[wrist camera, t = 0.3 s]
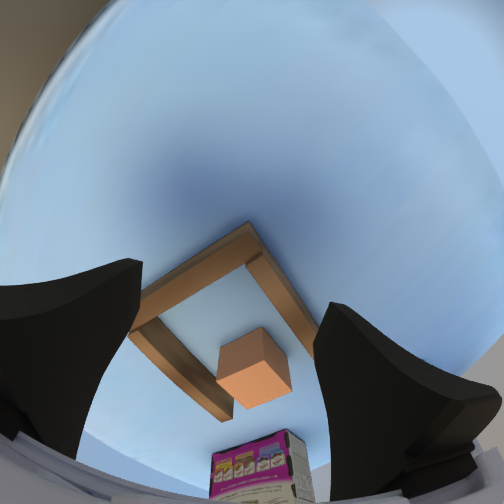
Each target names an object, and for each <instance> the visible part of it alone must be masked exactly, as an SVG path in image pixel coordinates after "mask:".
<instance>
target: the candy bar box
mask: <svg viewBox="0 0 504 504" xmlns="http://www.w3.org/2000/svg"><path fill="white" fill-rule="evenodd" d="M209 499H211V500H219V501H228V502H238V503H252V504H308V503H315V497H314V490H313V485H312V479H311V473H310V467H309V461H308V456H307V450H306V445H305V442H303V441H302V440H301V439H299V438H297V437H296V436H294V435H293V434H292V433H291V432H289V431H288V430H286V429H285V430H281V431H279V432H276V433H274V434H271V435H269V436H266V437H263V438H261V439H258V440H255V441H253V442H250V443H247V444H244V445H241V446H238V447H235V448H232V449H229V450H226V451H222V452H219V453H216V454H212V461H211V474H210V488H209Z"/></svg>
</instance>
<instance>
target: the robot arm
mask: <svg viewBox="0 0 504 504" xmlns="http://www.w3.org/2000/svg"><path fill="white" fill-rule="evenodd" d="M142 267H143V262H142V261H138V260H134V259H130V258H126V259H121V260H118V261H115V262H112V263H109V264H106V265H103V266H100V267H97V268H94V269H92V270H88V271H85V272H82V273H79V274H75V275H72V276H69V277H65V278H61V279H57V280H52V281H46V282H41V283H32V284H24V285H10V286H0V504H252V503H238V502H228V501H219V500H211V499H204V498H198V497H192V496H186V495H182V494H177V493H172V492H168V491H163V490H159V489H155V488H151V487H148V486H144V485H140V484H137V483H134V482H130V481H127V480H124V479H121V478H118V477H115V476H113V475H109V474H107V473H104V472H102V471H99V470H97V469H94V468H92V467H89V466H87V465H84V464H82V463H80V462H78V461H75V460H76V455H77V450H78V447H79V442H80V438H81V435H82V431H83V428H84V425H85V421H86V418H87V415H88V412H89V409H90V406H91V404H92V401H93V398H94V396H95V393H96V391H97V388H98V386H99V383H100V381H101V378H102V376H103V374H104V372H105V370H106V369H107V367H108V365H109V363H110V362H111V360H112V358H113V357H114V355H115V353H116V352H117V350H118V349H119V347H120V345H121V344H122V342H123V340H124V339H125V337H126V335H127V334H128V332H129V331H130V329H131V327H132V325H133V323H134V320H135V318H136V316H137V314H138V311H139V309H140V297H141V281H142ZM313 354H314V363H315V368H316V372H317V376H318V380H319V384H320V388H321V392H322V395H323V399H324V403H325V407H326V412H327V417H328V425H329V435H330V449H331V491H330V502H322V503H308V504H504V460H503V458H502V456H501V455H500V453H499V451H498V449H497V447H493V448H491V449H489V450H488V451H485V452H484V451H483V450H482V448H481V446H480V444H479V442H478V441H477V439H476V437H477V436H478V435H479V434H480V433H481V432H482V431H483V430H484V429H485V428H486V426H487V425H488V424H489V423H490V422H491V421H492V420H493V418H494V417H495V416H496V414H497V413H498V411H499V409H500V407H501V404H502V397H501V396H500V395H499V393H498V392H497V390H496V389H495V388H493V387H492V386H489V385H485V384H481V383H477V382H473V381H470V380H466V379H464V378H461V377H458V376H455V375H453V374H450V373H448V372H446V371H443V370H441V369H439V368H437V367H435V366H433V365H431V364H429V363H427V362H425V361H423V360H421V359H420V358H418V357H416V356H415V355H413V354H411V353H410V352H408V351H406V350H405V349H403V348H402V347H401V346H399V345H398V344H396V343H395V342H394V341H392V340H391V339H389V338H388V337H387V336H385V335H384V334H383V333H382V332H380V331H379V330H378V329H377V328H375V327H374V326H373V325H372V324H370V323H369V322H368V321H367V320H365V319H364V318H363V317H362V316H360V315H359V314H358V313H356V312H355V311H354V310H352V309H351V308H349V307H348V306H346V305H344V304H339V303H334V302H330V303H329V306H328V308H327V311H326V313H325V315H324V318H323V320H322V323H321V325H320V327H319V330H318V332H317V334H316V337H315V339H314V341H313Z"/></svg>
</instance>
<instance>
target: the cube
mask: <svg viewBox="0 0 504 504" xmlns="http://www.w3.org/2000/svg"><path fill="white" fill-rule="evenodd" d="M216 382H217V383H218V384H219V385H220V386H221V387H222V388H223V389H225V390H226V391H227V392H228V393H229V394H230V395H231V396H232V397H233V398H235V399H236V400H237V401H238V402H239V403H240V404H241V405H243V406H244V407H245V408H246V409H250V408H252V407H255V406H258V405H260V404H263V403H265V402H268V401H270V400H273V399H275V398H278V397H280V396H282V395H285V394H287V393H289V392H292V386H291V379H290V373H289V366H288V360H287V357H286V356H285V354H284V353H283V352H282V351H281V349H280V348H279V347H278V346H277V345H276V343H275V342H274V341H273V340H272V338H271V337H270V336H269V335H268V333H267V332H266V331H265V330H264V328H263V327H260V328H258V329H256V330H254V331H252V332H250V333H248V334H246V335H244V336H243V337H241V338H239V339H237V340H235V341H233V342H231V343H229V344H227V345H225V346H222V347H220V353H219V361H218V369H217V376H216Z"/></svg>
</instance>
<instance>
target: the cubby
mask: <svg viewBox="0 0 504 504" xmlns="http://www.w3.org/2000/svg"><path fill="white" fill-rule="evenodd" d="M244 263H245V266H246V268H247V269H248V271H249V272H250V273H251V275H252V276H253V278H254V279H255V280H256V282H257V283H258V284H259V286H260V287H261V289H262V290H263V291H264V293H265V294H266V296H267V297H268V298H269V300H270V301H271V302H272V304H273V305H274V307H275V308H276V309H277V311H278V312H279V313H280V315H281V316H282V318H283V319H284V320H285V322H286V323H287V324H288V326H289V327H290V328H291V330H292V331H293V333H294V334H295V335H296V337H297V338H298V339H299V341H300V342H301V343H302V345H303V346H304V347H305V349H306V350H307V352H308V353H309V354H310V356H311V357H312V358H313V360H314V354H313V341H314V339H315V337H316V334H317V332H318V330H319V326H318V324H317V323H316V321H315V320H314V318H313V317H312V315H311V314H310V312H309V311H308V309H307V307H306V306H305V304H304V303H303V301H302V300H301V298H300V297H299V295H298V294H297V292H296V291H295V289H294V288H293V286H292V285H291V283H290V282H289V280H288V279H287V277H286V276H285V274H284V273H283V271H282V270H281V268H280V267H279V265H278V264H277V262H276V261H275V259H274V258H273V256H272V255H271V253H270V252H269V250H268V249H267V247H266V246H265V244H264V243H263V241H262V240H261V238H260V237H259V235H258V234H257V232H256V231H255V229H254V228H253V226H252V225H251V223H250V222H249V221H248V222H246V223H245V224H243V225H241V226H240V227H238V228H237V229H235V230H234V231H232V232H230V233H229V234H227V235H226V236H224V237H223V238H221V239H220V240H218V241H216V242H215V243H213V244H212V245H210V246H209V247H207V248H206V249H204V250H203V251H201V252H199V253H198V254H196V255H195V256H193V257H192V258H190V259H189V260H187V261H186V262H184V263H183V264H181V265H180V266H178V267H177V268H175V269H174V270H172V271H171V272H169V273H168V274H166V275H165V276H163V277H162V278H160V279H159V280H157V281H156V282H154V283H153V284H151V285H150V286H148V287H147V288H145V289H144V290H142V291H141V297H140V309H139V311H138V314H137V316H136V318H135V320H134V323H133V325H132V327H131V329H130V331H129V334H128V336H127V337H128V338H129V339H130V340H131V341H132V342H133V343H134V344H135V345H136V346H137V347H138V348H139V350H140V351H141V352H142V353H143V354H144V355H145V356H146V357H147V358H148V359H149V360H150V361H151V362H152V363H153V364H155V365H156V366H157V367H158V368H159V369H160V370H161V371H162V372H163V373H164V374H165V375H166V376H167V377H168V378H169V379H170V380H172V381H173V382H174V383H175V384H176V385H177V386H178V387H179V388H180V389H182V390H183V391H184V392H185V393H186V394H187V395H188V396H190V397H191V398H192V399H193V400H194V401H195V402H197V403H198V404H199V405H200V406H201V407H203V408H204V409H205V410H206V411H208V412H209V413H210V414H211V415H213V416H214V417H215V418H216V419H218V420H219V421H220V422H225V421H228V420H231V419H233V405H234V398H233V397H232V396H231V395H230V394H229V393H228V392H227V391H226V390H225V389H223V388H222V387H221V386H220V385H219V384H218V383H217V382H216V377H214V376H213V375H212V374H211V373H210V372H209V371H208V370H207V369H206V368H205V367H204V366H203V365H202V364H201V363H200V362H199V361H198V360H197V359H196V358H195V357H194V356H193V355H192V354H191V353H190V352H189V351H188V350H187V349H186V347H185V346H184V345H183V344H182V343H181V342H180V341H179V340H178V339H177V338H176V337H175V336H174V335H173V334H172V333H171V331H170V330H169V329H168V328H167V327H166V326H165V325H164V324H163V323H162V322H161V320H160V319H159V318H158V317H157V316H158V315H160V314H161V313H163V312H165V311H166V310H168V309H170V308H171V307H173V306H175V305H176V304H178V303H180V302H181V301H183V300H185V299H186V298H188V297H190V296H191V295H193V294H195V293H196V292H198V291H200V290H201V289H203V288H205V287H206V286H208V285H210V284H211V283H213V282H215V281H216V280H218V279H220V278H221V277H223V276H225V275H226V274H228V273H230V272H231V271H233V270H234V269H236V268H238V267H239V266H241V265H243V264H244Z"/></svg>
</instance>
